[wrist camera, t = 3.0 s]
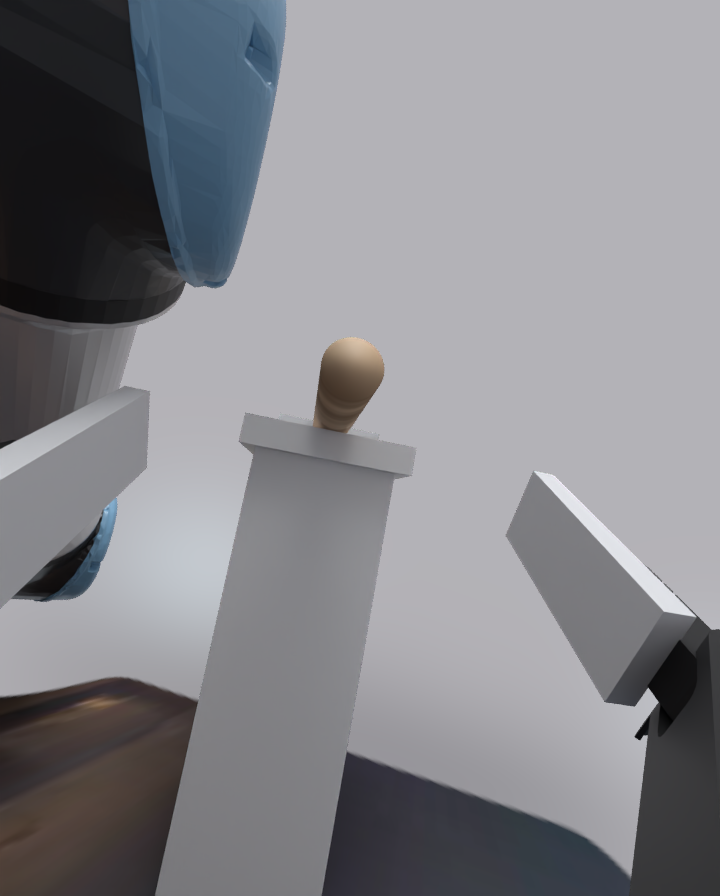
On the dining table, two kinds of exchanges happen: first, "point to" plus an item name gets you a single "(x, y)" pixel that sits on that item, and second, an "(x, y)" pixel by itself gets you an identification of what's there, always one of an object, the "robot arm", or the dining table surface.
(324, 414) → the ball
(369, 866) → the dining table surface
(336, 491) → the plinth
